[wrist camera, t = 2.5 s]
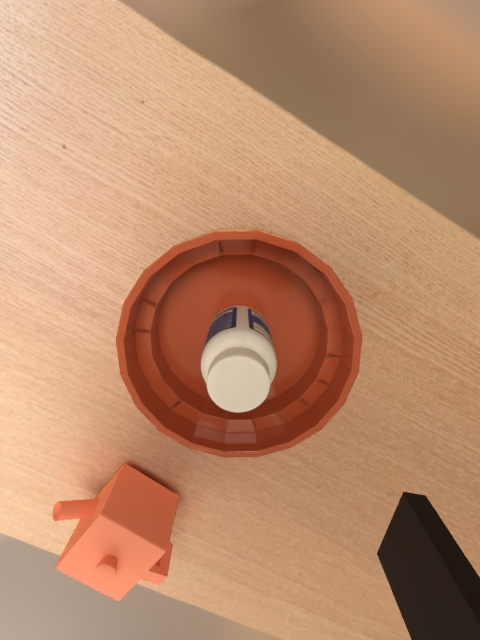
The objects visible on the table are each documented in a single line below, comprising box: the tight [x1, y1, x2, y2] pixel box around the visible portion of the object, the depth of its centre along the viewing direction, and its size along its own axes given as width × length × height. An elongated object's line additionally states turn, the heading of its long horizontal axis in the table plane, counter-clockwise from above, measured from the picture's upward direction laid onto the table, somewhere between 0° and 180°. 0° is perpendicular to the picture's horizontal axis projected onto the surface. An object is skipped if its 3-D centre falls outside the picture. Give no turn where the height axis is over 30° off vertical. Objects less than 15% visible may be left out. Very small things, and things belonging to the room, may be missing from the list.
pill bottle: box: [201, 306, 277, 412], centre depth 25 cm, size 5×5×10 cm
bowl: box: [116, 228, 362, 457], centre depth 28 cm, size 18×18×6 cm
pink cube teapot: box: [53, 463, 179, 601], centre depth 32 cm, size 8×12×8 cm, turn 52°
